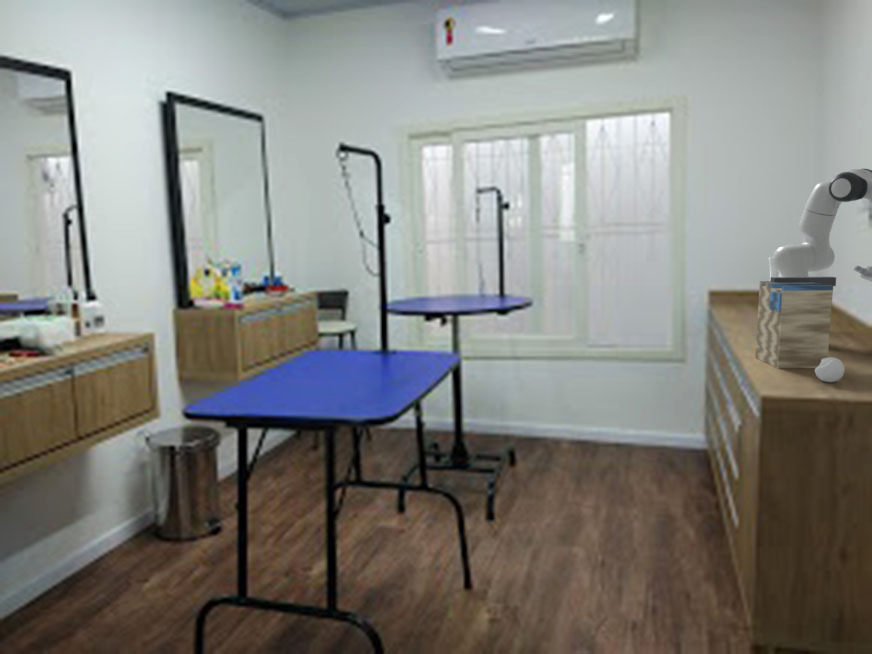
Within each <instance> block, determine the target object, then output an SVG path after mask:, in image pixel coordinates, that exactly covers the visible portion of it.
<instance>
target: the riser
mask: <svg viewBox="0 0 872 654" xmlns="http://www.w3.org/2000/svg"><path fill="white" fill-rule="evenodd" d="M820 285H821V283H815V282H770V280H759V292H758V303H757V304H758V306H757V307H758V308H757V321H756V323H757V324H756V341H755V357H756V358H755V359H757V358H758V359H757V360H759V359H760V361H761V360H762V362H764V361H765V362H764V363H766V362H767V363H766V364H768V363H769V364H768V365H770V364H771V365H770V366H772V365H773V366H772V367H774V366H775V367H774V368H776V367H778V368H777V369H816V368H817V367H818V366H819V365H820V363H821V359H824V358H829V345H830V334H831V318H832V308H833V307H832V306H833V296H834V294H833V293H834V286H832V285H823V286H820Z"/></svg>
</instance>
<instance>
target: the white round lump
mask: <svg viewBox="0 0 872 654" xmlns="http://www.w3.org/2000/svg"><path fill="white" fill-rule="evenodd" d="M814 373H815V376H816V377H817V378H818V379H819V380H821V381H822V382H826V383H836V382H838V381H839V380H840V379H842V377H843V376H844V373H845V366H844V363H843V362H842V360H841V359H840V358H836V357H835V356H832V357H829V356H828V358H824V359H821V363H820V365H819V366H818V367H817V368H814Z"/></svg>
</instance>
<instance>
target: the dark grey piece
mask: <svg viewBox="0 0 872 654" xmlns="http://www.w3.org/2000/svg"><path fill="white" fill-rule="evenodd" d="M769 281H770V282H815V283H821V285H820V286H823V285H832V286H833V287H837V286H836V285H837V277H835V276H809V277H771V280H770V279H769Z"/></svg>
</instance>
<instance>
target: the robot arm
mask: <svg viewBox="0 0 872 654" xmlns="http://www.w3.org/2000/svg"><path fill="white" fill-rule="evenodd" d="M862 199H866V200H868V201H869V202H870V203H871V204H872V169H869V168H856V169H850V170H848V171H844V172H843V171H842V172H841V173H838V174H836V175H835V176H834V177H832V179H831V180H830V181H821V182H819V183H817V184H816V185H815V186H814V188H813V189H812V191H811V192H810V194H809V196H808V199H807V201H806V203H805V206H804V209H803V212H802V215H801V217H800V221H799V222H798V228H799V231H800V232H801V233H802V234H803V240H802V243H801V244H800V243H799V244H797V243H796V244H795V243H793V244H786V245H784V246H780V247H778V248H777V249H776V250H774V252H773V255H772V257H773V259H772V260H773V265H774V267H775V268H776V269H777V270H778V271H779V272H780V273H781V275H782V277H810V276H809V273H810V272H812V273H813V272H820V271H823V270H826V269H828V268H831V266H833V264H834V262H835V252H834V250H833V248H832V247H831V244H830V236H831V235H830V234H831V230H832V228H833V224H834V221H835V219H836V216H837V213H838V210H839V208H840V205H841V204H842V203H848V202H856V201H858V200H862ZM853 270H854V272H858V273H859V274H860V278H862V279H864V280H866V281H869V282H870V283H871V282H872V266H867V267H865V268H864V267H862V266H860V265H855V266H854V268H853Z"/></svg>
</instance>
